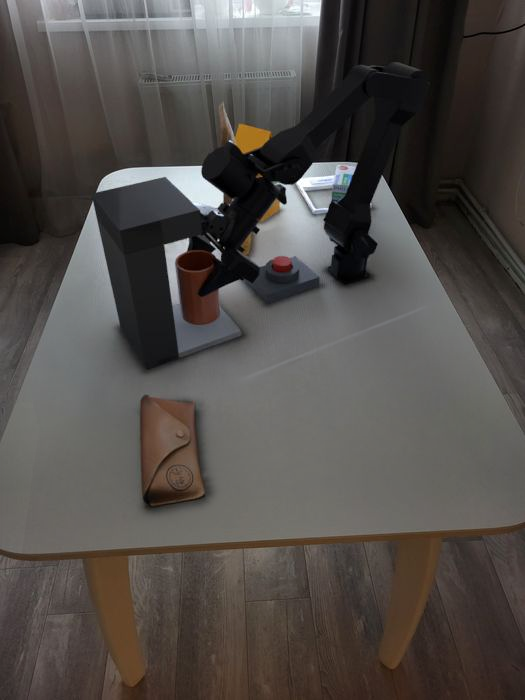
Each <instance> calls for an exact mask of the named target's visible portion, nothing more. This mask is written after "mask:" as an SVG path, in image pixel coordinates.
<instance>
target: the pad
mask: <svg viewBox="0 0 525 700" xmlns="http://www.w3.org/2000/svg"><path fill="white" fill-rule="evenodd" d="M289 258H290V259H291V261H292V263H291V270H290V271H288V272H276V271H274V270H273V259H274V258H273V259H270V260H269V261H267V262H266V263H265V265H262V266H259V267H260V275H259V276H258V277H257V279H256V280H255V281H254V283H253V284H252V283H251V282H249V281H247V280H246V279H245V280H244V282H245V283H246V284H247V285H248V286H249V287H250V288H251V289H252V290H253V291H254V292H255V293H256V294H257V295H258V296H259V297H260V298H261V300H263V301H264V302H265V304H271V303H274V302H276V301H277V302H278V301H279V300H282V299H286V298H289V297H291V296H294V295H297V294H300V293H303V292H306V291H309V290H312V289H314V288H317V287H319V286H320V279H321V277H320V275H318V274H317V273H316V272H314V270H312V269H311V268H310V267H309V266H308V265H306V263H304V262H303V261H302V260H301V259H300V258H298V257H297V255H294V256H291V257H289Z"/></svg>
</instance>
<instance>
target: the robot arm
mask: <svg viewBox="0 0 525 700" xmlns="http://www.w3.org/2000/svg"><path fill="white" fill-rule="evenodd" d="M429 89H430V82H429V78H428V74H427V73H426V72H425V71H423V70H422V69H419V68H416V67H412V66H409V65H407V64H404V63H401V62H397V61H394V62H391V63H389V64H387V65H386V66H380V65H369V66H368V65H364V64H358V65H355V66H353V67H351V69H350V70H349V72H348V74H347V76H346V77H345V78H344V79H343V80H342V81H341V82H340V83H339V84H338V85H337V86H336V87H335V88H334V89H333V90H332V91H331V92H330V93H329V94H328V95H327V96H326V97H325V98H324V99H323V100H321V102H319V103H318V104H317V106H315V107H314V109H312V110H311V111H310V113H308V114H307V115H306V116H305V117H304V118H303V119H302V120H301V121H300V122H299V123H298V124H296V125H295V126H292V127H290V128H289V127H288V128H287V129H283V130H281V131H279V132H278V133H277V134H275V135H274V136H273V137H272V138H271V139H270V140H268V141H267V142H266V143H265V144H264V145H263V146H262V147H260V148H257V149H255V150H252V151H249V152H247V153H244V154H243V153H242V151H241V150H240V149H239V148H238V147H237V146H236V145H235V144H233V143H232V142H231V141H227V143H226V144H225V146H224V147H222V146H219V147H216V148H215V149H214V150H212V152H209V153H208V154H207V155H206V157H205V158H204V160H203V162H202V165H201V168H200V169H201V170H200V171H201V172H200V174H201V176H202V178H203V179H204V180H205V181H207V182H208V183H209V184H210V185H212V186H213V187H214V188H216V189H217V190H218V191H219V192H220V193H224V194H225V195H226V196H228V197H230V198H233V200H234V201H233V200H232V201H231V202H230V203H229V204H227V203H226V202H225V201H224V203H223V202H221V203H220V204H219V205H218V207H213V206H211V205H207V204H203V203H197V202H193V201H191V202H192V203H193V204H194V205H195V206H196V207H197V208H198V209H200V217H201V229H202V235H198V236H194V237H191V238H188V245H187V249H186V252H187V251H192V250H203V251H208V252H210V253H212V254H213V252H215V251H216V250H218V251H219V252H220V253H221V254H220V259H219V258H217V257H216V256H215V257H216V258H215V257H213V265H214V267H213V269H212V271H211V272H210V274H209V276H208V277H207V279H206V280H205V282H204V283H203V285H202V286H201V288H200V290H199V292H198V295H199V296H201V297H204V296H206V295H208V294H210V293H212V292H214V291H216V290H218V289H219V290H220V289H222V288H223V287H226V286H228V285H231V284H233V283H235V282H238V281H241V282H245V279H246V280H247V281H249V282H251V283H252V284H253V283H254V281H255V280H256V279H257V277H258V276H259V275H260V267H261V266H259V265H258V264H257V263H256V262H255V261H254V260H253V259H251V258H250V257H249V255H247V256H246V255H245V254H243V252H244V250H245V249H244V248H243V247H242V246H241V245H242V244H243V243H244V241H245V240H246V239H247V238H248V236H249V235H250V234H251V232H252V233H254V234H255V235H258V233H259V232H260V230H261V229H260V228H259V227H258V226H257V225H259V223H261V222H260V220H261V219H262V218H263V216H264V215H265V214H266V212H267V211H268V210H269V208H270V207H271V206H272V204H273V203H274V202H275V200H276V199H277V200H278V201H279V203H281V204H282V205H284V206H285V205H287V204H288V201H287V193H286V192H287V188H286V186H293V185H296V182H298V181H299V180H300V179H302V178H303V177H304V176H305V174H306V173H307V171H309V169H310V168H311V166H312V165H313V163H314V161H315V158H316V155H317V151H318V150H319V149H320V147H321V146H322V145H323V144H324V143H325V142H326V141H328V139H329V138H330V137H331V136H333V135H334V133H335V132H337V131H338V130H339V129H340V128H341V127H342V126H343V125H344V124H345V123H346V122H347V121H348V120H349V119H350V118H351V117H352V116H353V115H354V114H355V113H356V112H358V110H359V109H360V108H361V107H363V105H364V104H365V103H367V102H368V100H370V98H373V105H374V118H373V122H372V124H371V127H370V129H369V131H368V135H367V137H366V139H365V142H364V145H363V147H362V150H361V152H360V155H359V158H358V160H357V164H356V166H355V167H356V168H355V171H354V174H353V176H352V179H351V181H350V184H349V187H348V189H347V192H346V194H345V196H344V197H343V198H341V199H340V200H339V201H338V202H337V203H336V202H333V201H332V202H331V201H330V203H329V204H328V207H327V208H328V212H327V213H325V216H324V218H323V219H322V221H323V222H324V224H323V230H324V232H325V234H326V235H327V237H329V241H330V242H332V243H334V246H333V247H334V248H333V254H332V255H331V263H330V266H328V267H327V271H328V272H330V273H331V274H332V275H333V276H334V277H335V278H336V279H337V280H338V281H339V282H341V284H343V285H349V284H351V283H354V282H358V281H361V280H364V279H368V278H370V277H371V273H370V272H369V271H368V270H367V264H368V259H369V256H370V255H374V254H375V253H376V250H377V247H378V245H379V243H378V242H377V241H376V240H375V239H374V238H373V237H372V236H370V235H369V233H370V229H371V225H372V212H371V208H370V204H372V201H373V198H374V196H375V194H376V191H377V189H378V186H379V184H380V181H381V179H382V176H383V174H384V171H385V170H386V167H387V164H388V162H389V159H390V157H391V155H392V152H393V149H394V147H395V144H396V142H397V140H398V137H399V135H400V132H401V130H402V128H403V126H404V125H406V123H407V122H409V121H411V119H412V118H413V117H415V115H417V113H418V112H419V110H420V108H421V106H422V104H423V102H424V101H425V99H426V97H427V95H428V92H429ZM258 174H260V175H262V176H263V177H257V178H256V176H257V175H258ZM272 182H280V183H278V184H273V183H272Z"/></svg>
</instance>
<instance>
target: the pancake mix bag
mask: <svg viewBox="0 0 525 700" xmlns="http://www.w3.org/2000/svg"><path fill="white" fill-rule="evenodd" d="M218 115H219V116H218V117H219V120H220V140H221V147H224V146H225V144H226V143H227V141H231V142H232V143H233V144H235V145H236V146H237V144H236V141H235V135H234V131H233V129H232V126H231V123H230V120H229V118H228V115H227V113H226V108H225V100H223V101H222V102H221V103H220V104H219V105H218ZM222 196H223V198H222V199H223V200H222V201H223V202H222V203H224V201H225V202H226V203H227V204H229V203H230V202H231V201H232V200H233V198H230V197H228V196H226V195H225V194H224V193H223V195H222ZM233 201H234V200H233ZM252 237H253V232H251V234H250V235H249V236H248V238H247V239H246V240H245V241H244V243H243V244H242V245H241V246H242V247H243V248H244V249H245V250H244V252H243V254H245V255H246V256H249V253H250V252H251V247H252Z"/></svg>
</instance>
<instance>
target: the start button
mask: <svg viewBox="0 0 525 700" xmlns="http://www.w3.org/2000/svg"><path fill="white" fill-rule="evenodd" d="M290 258H291V257H289V256H286V255H279V256H275V257H274V258H273V270H274V271H276V272H288V271H290V270H291V263H292V261H291V259H290Z"/></svg>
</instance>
